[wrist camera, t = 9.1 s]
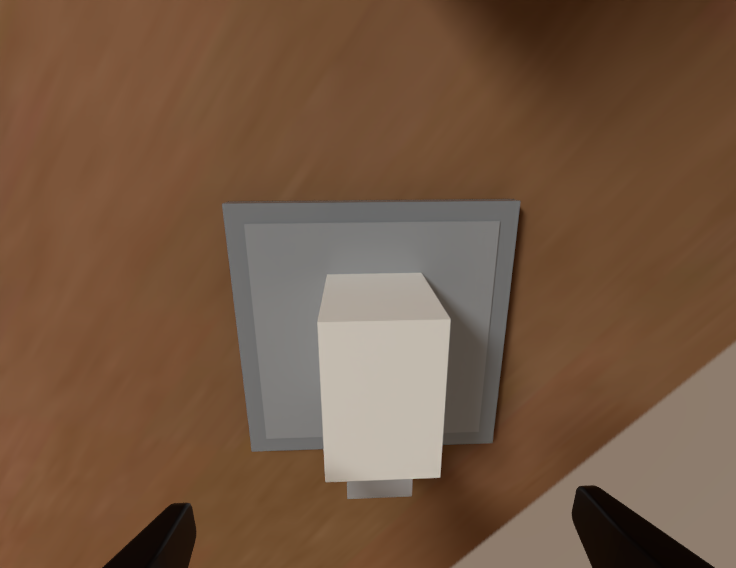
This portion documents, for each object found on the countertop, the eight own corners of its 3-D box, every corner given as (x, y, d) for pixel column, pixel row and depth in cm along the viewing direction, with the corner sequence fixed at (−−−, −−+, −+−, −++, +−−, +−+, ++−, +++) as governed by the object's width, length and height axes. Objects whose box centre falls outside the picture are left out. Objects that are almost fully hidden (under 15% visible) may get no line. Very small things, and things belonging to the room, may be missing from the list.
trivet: (512, 199, 16) (521, 201, 16) (487, 432, 20) (493, 444, 19) (228, 201, 16) (221, 204, 15) (255, 440, 20) (251, 452, 19)
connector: (421, 272, 16) (450, 319, 12) (415, 436, 19) (436, 529, 14) (326, 274, 16) (317, 322, 11) (333, 439, 19) (327, 534, 14)
